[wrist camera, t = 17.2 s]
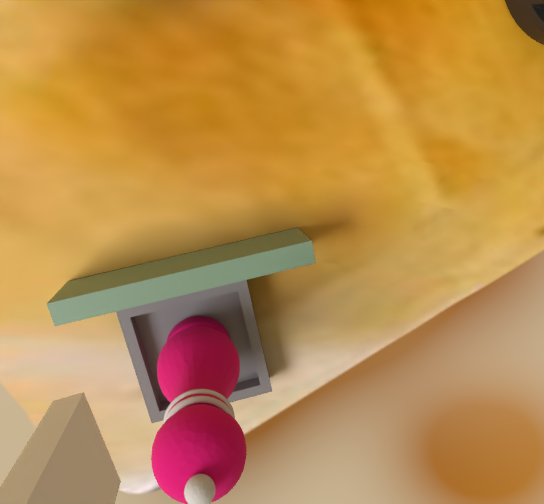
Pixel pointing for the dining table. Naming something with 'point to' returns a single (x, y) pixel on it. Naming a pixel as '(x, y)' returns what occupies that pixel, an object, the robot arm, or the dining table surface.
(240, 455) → the pepper mill
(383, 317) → the dining table surface
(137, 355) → the tray
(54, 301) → the board
